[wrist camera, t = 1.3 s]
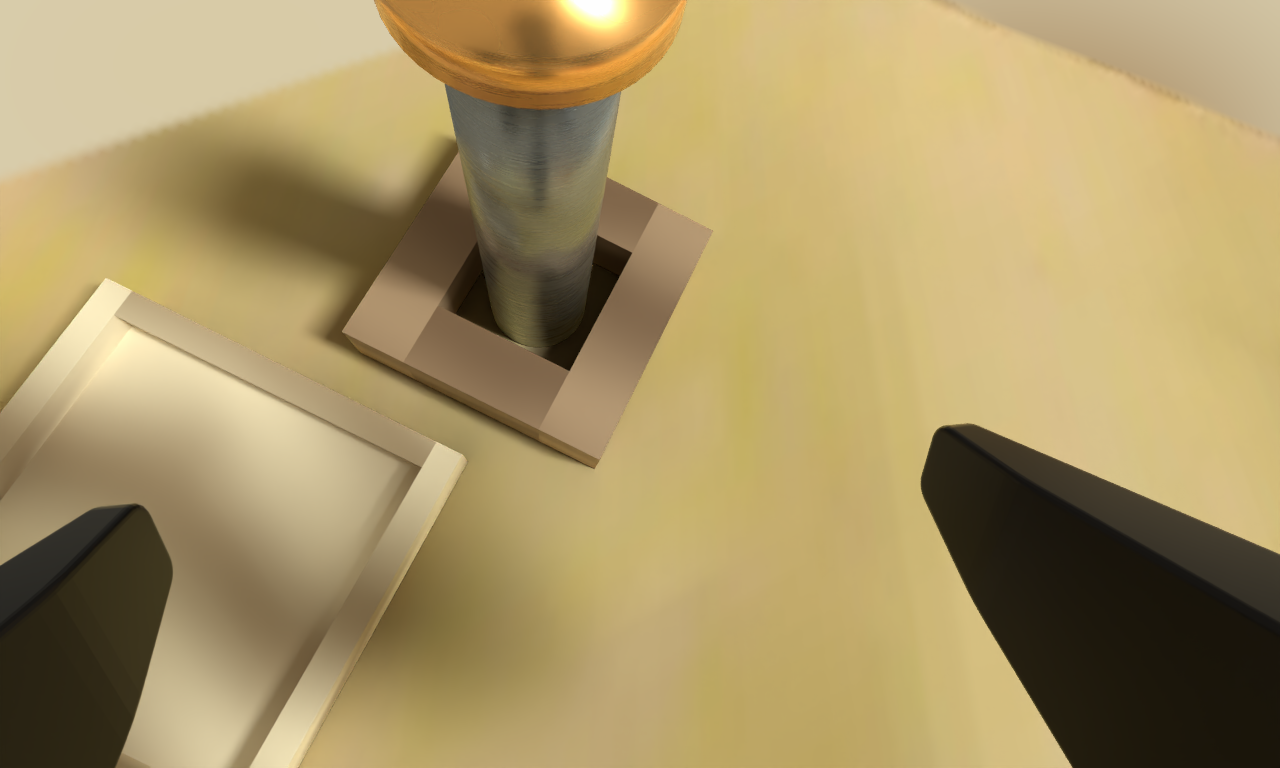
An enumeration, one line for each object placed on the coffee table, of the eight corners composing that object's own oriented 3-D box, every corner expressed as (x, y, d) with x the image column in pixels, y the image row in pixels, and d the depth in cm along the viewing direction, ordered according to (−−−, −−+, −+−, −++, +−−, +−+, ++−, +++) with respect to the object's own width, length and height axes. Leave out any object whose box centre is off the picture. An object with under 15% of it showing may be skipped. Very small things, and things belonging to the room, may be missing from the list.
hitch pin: (568, 391, 22) (610, 117, 8) (442, 329, 22) (275, -52, 8) (628, 277, 23) (751, -126, 9) (509, 217, 23) (461, -275, 9)
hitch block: (594, 468, 21) (599, 459, 19) (360, 352, 21) (341, 331, 19) (699, 257, 23) (713, 230, 21) (487, 151, 23) (482, 114, 21)
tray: (255, 845, 18) (229, 871, 16) (-137, 655, 17) (-197, 664, 16) (467, 461, 21) (462, 454, 19) (136, 297, 20) (106, 277, 19)
